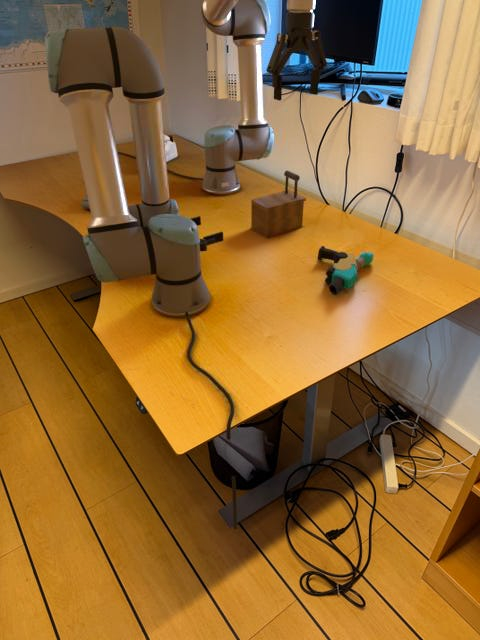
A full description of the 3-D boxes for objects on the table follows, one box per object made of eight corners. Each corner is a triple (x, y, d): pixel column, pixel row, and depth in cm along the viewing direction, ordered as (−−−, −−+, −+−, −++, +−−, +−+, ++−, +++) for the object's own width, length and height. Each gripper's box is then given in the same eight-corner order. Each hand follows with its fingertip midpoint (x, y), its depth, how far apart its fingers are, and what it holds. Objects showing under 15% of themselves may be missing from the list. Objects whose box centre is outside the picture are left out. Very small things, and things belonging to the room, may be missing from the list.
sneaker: (133, 173, 208) (129, 144, 201) (161, 153, 230) (158, 127, 223) (155, 175, 205) (151, 146, 198) (180, 155, 227) (178, 129, 220)
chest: (286, 217, 168) (287, 193, 163) (302, 226, 162) (303, 201, 157) (251, 228, 162) (251, 202, 157) (266, 237, 156) (267, 211, 150)
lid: (289, 192, 163) (290, 167, 158) (306, 200, 157) (307, 174, 152) (251, 202, 157) (251, 176, 151) (267, 211, 150) (267, 185, 145)
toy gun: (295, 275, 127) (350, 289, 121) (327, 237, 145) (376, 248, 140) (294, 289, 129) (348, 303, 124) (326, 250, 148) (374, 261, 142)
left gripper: (133, 241, 149) (192, 225, 158) (169, 275, 132) (233, 254, 141) (129, 219, 144) (190, 203, 154) (166, 251, 127) (232, 231, 137)
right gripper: (326, 8, 136) (319, 89, 149) (254, 12, 125) (254, 99, 138) (344, 9, 131) (336, 93, 143) (271, 14, 120) (269, 104, 133)
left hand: (211, 227), depth 148 cm, fingers open, 13 cm apart
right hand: (295, 96), depth 141 cm, fingers open, 13 cm apart
